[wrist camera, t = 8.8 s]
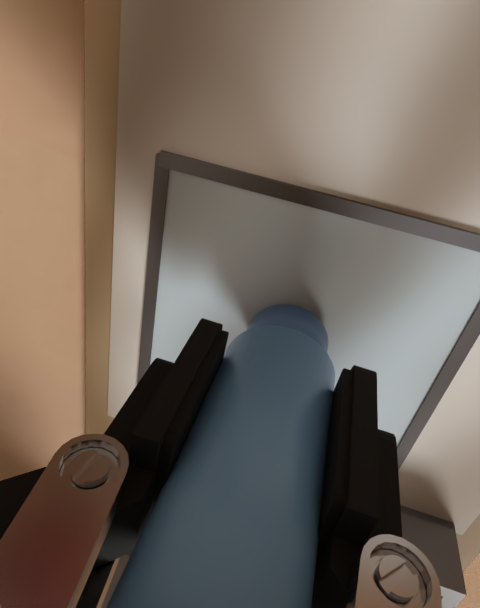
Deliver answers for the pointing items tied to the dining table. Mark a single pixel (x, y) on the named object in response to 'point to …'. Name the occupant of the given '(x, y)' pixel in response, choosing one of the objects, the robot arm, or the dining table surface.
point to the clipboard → (294, 204)
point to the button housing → (437, 551)
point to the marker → (244, 480)
